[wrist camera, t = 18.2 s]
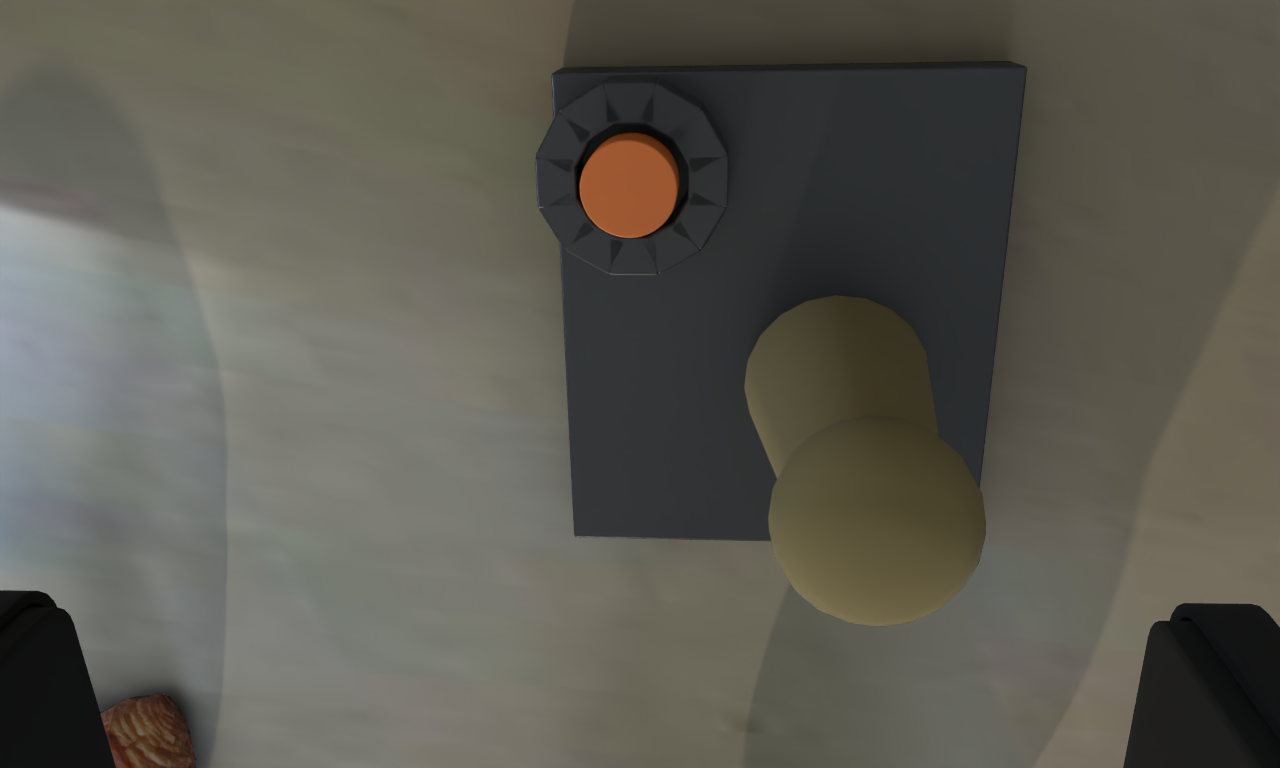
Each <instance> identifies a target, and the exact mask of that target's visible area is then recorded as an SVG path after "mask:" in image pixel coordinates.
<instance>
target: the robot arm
mask: <svg viewBox="0 0 1280 768" xmlns="http://www.w3.org/2000/svg"><path fill="white" fill-rule="evenodd" d="M0 768H116V765H115V762H114V758H113V755H112V752H111V748H110V745H109V741H108V738H107V735H106V731H105V728H104V725H103V721H102V718H101V714H100V711H99V708H98V704H97V701H96V697H95V694H94V691H93V687H92V684H91V681H90V677H89V674H88V670H87V667H86V664H85V660H84V657H83V654H82V650H81V647H80V643H79V640H78V637H77V633H76V630H75V626H74V623H73V621H72V619H71V616H70V615H69V614H68V613H67V612H66V611H65V610H64V609H61V608H57V606H56V604H55V602H54V600H53V599H52V598H51V597H50V596H49V595H48V594H46V593H43V592H40V591H0ZM1123 768H1280V627H1279V626H1278V625H1277V624H1276V622H1275V621H1274V620H1273V619H1272V618H1271V616H1270V615H1269V614H1268V613H1267V612H1266V611H1265V610H1263V609H1262V608H1261V607H1260V606H1257V605H1253V604H1202V603H1183V604H1181V605H1179V606H1177V607H1176V609H1175V610H1174V612H1173V613H1172V615H1171V619H1170V621H1158V622H1155V623H1154V624H1153V626H1152V627H1151V629H1150V632H1149V636H1148V640H1147V646H1146V651H1145V656H1144V661H1143V667H1142V672H1141V677H1140V683H1139V688H1138V693H1137V698H1136V704H1135V709H1134V714H1133V720H1132V725H1131V730H1130V736H1129V741H1128V746H1127V751H1126V757H1125V762H1124V767H1123Z"/></svg>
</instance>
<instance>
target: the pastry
mask: <svg viewBox="0 0 1280 768" xmlns="http://www.w3.org/2000/svg"><path fill="white" fill-rule="evenodd" d="M100 714H101V718H102V721H103V725H104V728H105V731H106V735H107V738H108V741H109V745H110V748H111V752H112V755H113V758H114V762H115V765H116V768H196V764H195V761H196V758H195V755H194V751H193V744H192V742H191V737H190V732H189V730H188V728H187V726H186V723H185V722H186V719H185V718H184V716H183V715H182V714H181V713H180V711H179V709H178V708H177V707H176V706H175V704H174V703H173V701H172V700H171V698H170V697H169V696H167V695H163V694H160V693H156V694H154V695H152V696H150V695H149V696H145V697H134V698H131V699H129V700H123V701H122V702H120V703H118V704H116V705H114V706H113V707H111V708H110V709H108V710H106V711H104V712H100Z"/></svg>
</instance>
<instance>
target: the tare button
mask: <svg viewBox="0 0 1280 768" xmlns="http://www.w3.org/2000/svg"><path fill="white" fill-rule="evenodd" d="M678 189H679V171H678V167H677V164H676V161H675V159H674V157H673V156H672V154H671V153H670V151H669V150H668V149H667V148H666V146H664V145H663V144H662V143H661V142H660V141H658V140H657V139H655V138H653V137H651V136H649V135H646V134H642V133H634V132H630V133H622V134H618V135H615V136H613V137H611V138H609V139H607V140H606V141H604V142H603V143H602V144H601V145H600V146H599V147H598V148H597V149H596V150H595V152H594V153H593V154H592V156H591V157H590V158H589V160H588V162H587V163H586V165H585V167H584V169H583V171H582V175H581V179H580V197H581V201H582V204H583V207H584V209H585V211H586V213H587V215H588V216H589V217H590V219H591V220H592V221H593V222H594V223H595V224H596V225H597V226H598V227H599V228H601V229H602V230H604V231H605V232H607V233H609V234H612V235H615V236H618V237H624V238H635V237H641V236H644V235H647V234H649V233H651V232H653V231H655V230H656V229H658V228H659V227H660V226H662V225H663V224H664V223H665V222H666V220H667V219H668V218H669V216H670V215H671V213H672V211H673V209H674V206H675V203H676V199H677V194H678Z"/></svg>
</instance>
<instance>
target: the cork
mask: <svg viewBox="0 0 1280 768" xmlns="http://www.w3.org/2000/svg"><path fill="white" fill-rule="evenodd" d="M744 389H745V393H746V398H747V403H748V407H749V412H750V415H751V417H752V420H753V422H754V425H755V427H756V429H757V432H758V434H759V437H760V439H761V441H762V444H763V446H764V449H765V451H766V453H767V456H768V458H769V461H770V463H771V465H772V468H773V470H774V473H775V475H776V477H777V481H776V483H775V485H774V487H773V489H772V496H771V503H770V510H769V516H768V522H769V532H770V537H771V541H772V546H773V551H774V555H775V558H776V560H777V562H778V563H779V565H780V567H781V568H782V570H783V571H784V573H785V575H786V576H787V578H788V579H789V581H790V582H791V584H792V586H793V587H794V589H795V590H796V592H797V593H799V594H800V595H801V596H802V597H804V598H805V599H806V600H807V601H808V602H810V603H811V604H812V605H813V606H815V607H816V608H817V609H818V610H820V611H823V612H825V613H828V614H830V615H833V616H835V617H837V618H840V619H842V620H845V621H847V622H850V623H854V624H863V625H872V626H881V627H882V626H889V625H895V624H902V623H908V622H912V621H914V620H916V619H919V618H921V617H923V616H925V615H928V614H930V613H932V612H935V611H937V610H938V609H939V608H940V607H941V606H943V605H944V604H945V603H946V602H947V601H949V600H950V599H951V598H952V597H953V596H955V595H956V594H957V593H958V592H959V591H960V590H961V589H962V588H963V587H964V585H965V584H966V582H967V581H968V579H969V577H970V576H971V574H972V573H973V571H974V570H975V568H976V567H977V565H978V563H979V560H980V556H981V552H982V548H983V544H984V539H985V535H986V520H985V513H984V505H983V498H982V493H981V491H980V489H979V487H978V485H977V484H976V482H975V480H974V478H973V476H972V474H971V473H970V471H969V469H968V467H967V465H966V463H965V462H964V460H963V458H962V456H961V455H960V454H958V453H957V452H956V451H955V450H954V449H953V448H952V447H950V446H949V445H948V444H947V443H946V442H945V441H944V440H942V439H941V438H940V437H939V436H938V429H937V422H936V416H935V409H934V402H933V396H932V389H931V382H930V376H929V369H928V362H927V355H926V352H925V350H924V348H923V346H922V344H921V342H920V341H919V339H918V337H917V335H916V333H915V331H914V329H913V328H912V327H911V326H910V325H908V324H907V323H906V322H905V321H904V320H903V319H902V318H901V317H900V316H898V315H897V314H896V313H895V312H894V311H893V310H891V309H889V308H887V307H885V306H882V305H880V304H878V303H875V302H873V301H871V300H868V299H866V298H858V297H848V296H838V295H835V296H830V297H825V298H820V299H815V300H810V301H806V302H804V303H802V304H800V305H798V306H796V307H794V308H793V309H791V310H789V311H787V312H785V313H783V314H781V315H780V316H779V317H778V318H777V319H776V320H775V321H774V322H773V323H772V324H771V325H770V326H769V327H768V328H767V329H766V330H765V331H764V332H763V333H762V334H761V335H760V337H759V339H758V341H757V343H756V345H755V347H754V349H753V351H752V353H751V355H750V357H749V359H748V361H747V369H746V377H745V385H744Z"/></svg>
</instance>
